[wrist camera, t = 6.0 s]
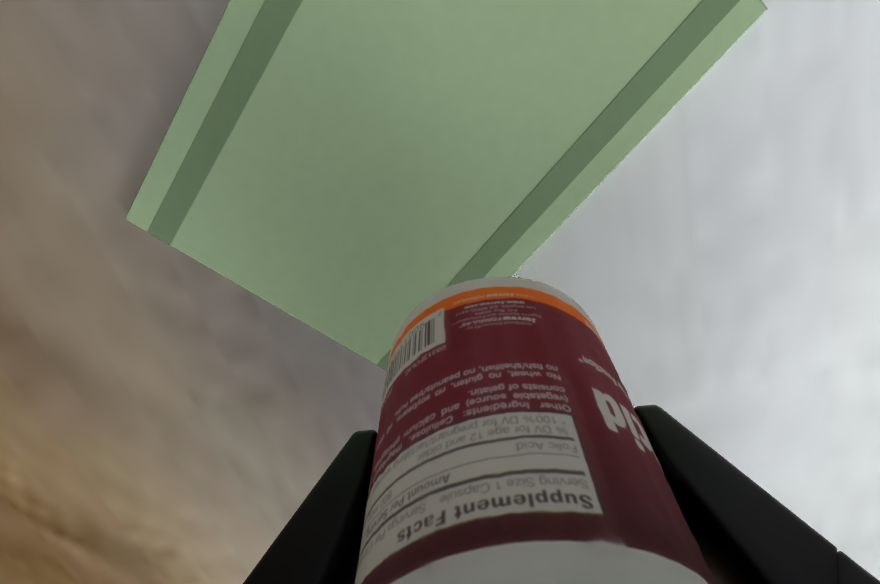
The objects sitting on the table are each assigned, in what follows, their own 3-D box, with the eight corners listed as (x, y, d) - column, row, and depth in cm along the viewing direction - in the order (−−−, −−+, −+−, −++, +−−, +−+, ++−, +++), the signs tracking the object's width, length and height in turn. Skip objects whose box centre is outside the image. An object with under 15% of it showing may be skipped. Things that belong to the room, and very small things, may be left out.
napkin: (763, 7, 17) (768, 8, 16) (409, 379, 25) (408, 383, 24) (421, -391, 12) (420, -401, 12) (128, 216, 20) (124, 219, 20)
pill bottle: (613, 410, 12) (860, 1011, 5) (427, 450, 13) (410, 1023, 6) (581, 240, 10) (955, 909, 3) (356, 301, 11) (180, 955, 3)
